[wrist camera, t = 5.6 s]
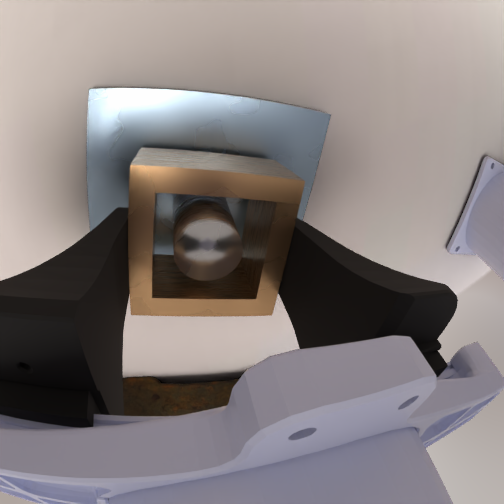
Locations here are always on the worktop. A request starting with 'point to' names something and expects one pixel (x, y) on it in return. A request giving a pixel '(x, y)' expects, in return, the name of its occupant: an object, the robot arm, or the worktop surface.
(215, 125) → the piston plate
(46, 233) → the worktop surface
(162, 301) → the square wooden frame
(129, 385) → the dark brown long piece
